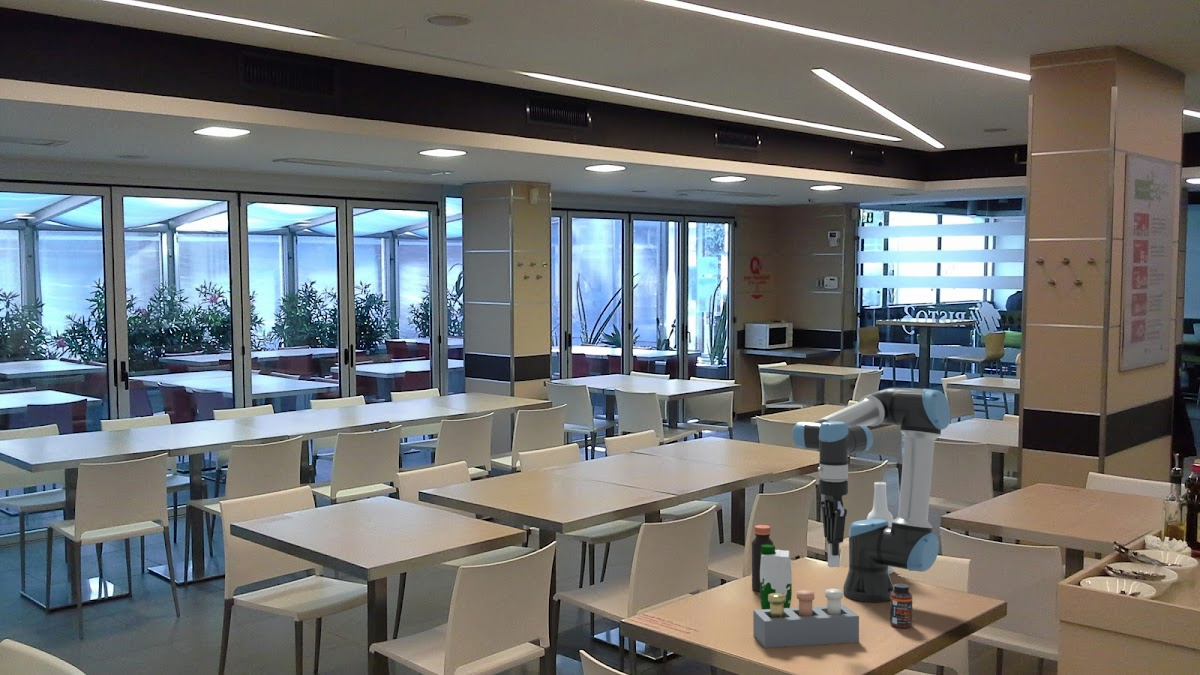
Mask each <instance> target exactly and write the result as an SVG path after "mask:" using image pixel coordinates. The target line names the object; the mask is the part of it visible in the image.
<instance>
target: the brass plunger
mask: <svg viewBox="0 0 1200 675" xmlns="http://www.w3.org/2000/svg"><path fill="white" fill-rule="evenodd" d="M768 601H769V602H770V618H784V603H785V602H786V596H785V595H784V594H781V593H771V594H769V595H768Z"/></svg>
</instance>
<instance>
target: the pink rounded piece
mask: <svg viewBox="0 0 1200 675" xmlns="http://www.w3.org/2000/svg"><path fill="white" fill-rule="evenodd" d="M796 599H797V600H798V607H799V617H802V616H812V607H813V601H814V600H815V592H814V591H812V590H807V589H802V590H798V591H796Z"/></svg>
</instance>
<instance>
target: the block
mask: <svg viewBox="0 0 1200 675" xmlns="http://www.w3.org/2000/svg"><path fill="white" fill-rule="evenodd" d="M752 615H753V622H752V623H753V625H752V626H753V627H752V628H753V631H752V632H753V634H752V635H753V637H754V638H755V637H756V638H757V639H756V638H755V639H756V640H757V641H758V642H759V643H760V644H761V645H762V647H763V648H765V649H769V647H770V648H782V647H783V648H785V647H784V646H786V647H800V646H801V647H803V646H814V645H815V646H816V645H817V646H818V645H832V644H833V645H834V644H846V643H847V644H848V643H849V644H850V643H859V642H860V615H858V614H857V613H856V612H855V611H853V610H852V609H851V608H849V607H848V606H847V605H845V604H841V614H836V615H827V605H822V606H821V605H819V606H818V605H817V606H812V616H802V617H799V606H798V607H790V608H784V618H770V609H763V610H762V609H753V614H752Z"/></svg>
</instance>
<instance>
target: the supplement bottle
mask: <svg viewBox="0 0 1200 675" xmlns="http://www.w3.org/2000/svg"><path fill="white" fill-rule="evenodd" d="M893 588H894V591H893V592H892V593H891V595H890V600H889V623H890V625H891V626H892V627H895V628H900V629H907V628H908V629H909V628H911V627H912V625H913V595H912V593H911V592H910V590H909V589H910V586H909V585H908V584H906V583H895V584H893Z"/></svg>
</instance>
